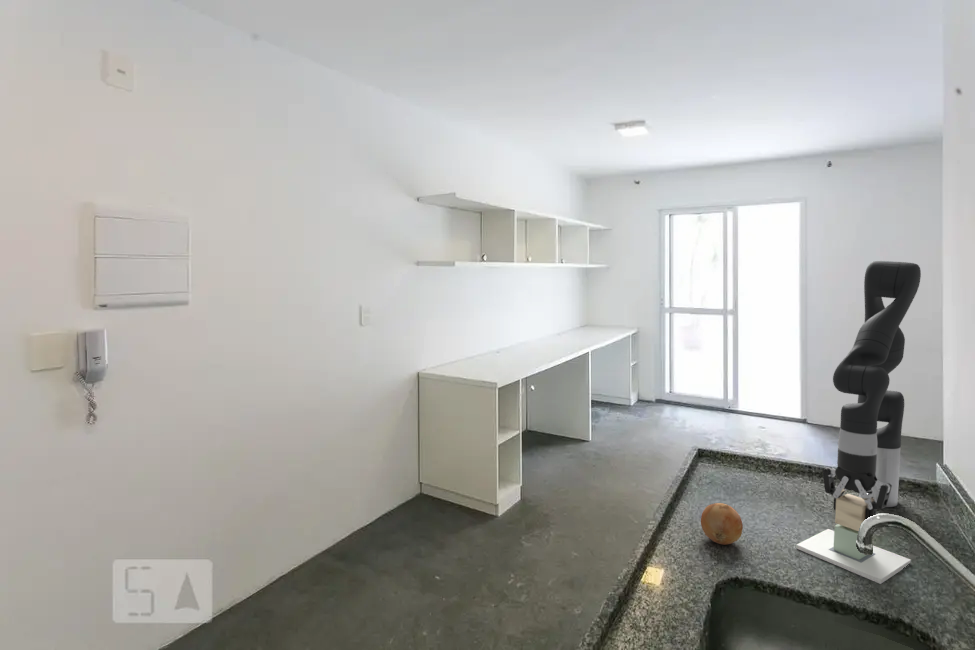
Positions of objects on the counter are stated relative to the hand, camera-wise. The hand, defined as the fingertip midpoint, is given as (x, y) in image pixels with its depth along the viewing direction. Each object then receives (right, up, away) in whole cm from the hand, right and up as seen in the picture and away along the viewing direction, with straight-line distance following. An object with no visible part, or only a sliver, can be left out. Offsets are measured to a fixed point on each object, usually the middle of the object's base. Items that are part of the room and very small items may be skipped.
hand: (853, 517), depth 126 cm
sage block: (0, -8, +1) cm, 8 cm away
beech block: (0, -2, 0) cm, 2 cm away
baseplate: (0, -9, +1) cm, 10 cm away
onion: (-28, -9, +8) cm, 31 cm away
